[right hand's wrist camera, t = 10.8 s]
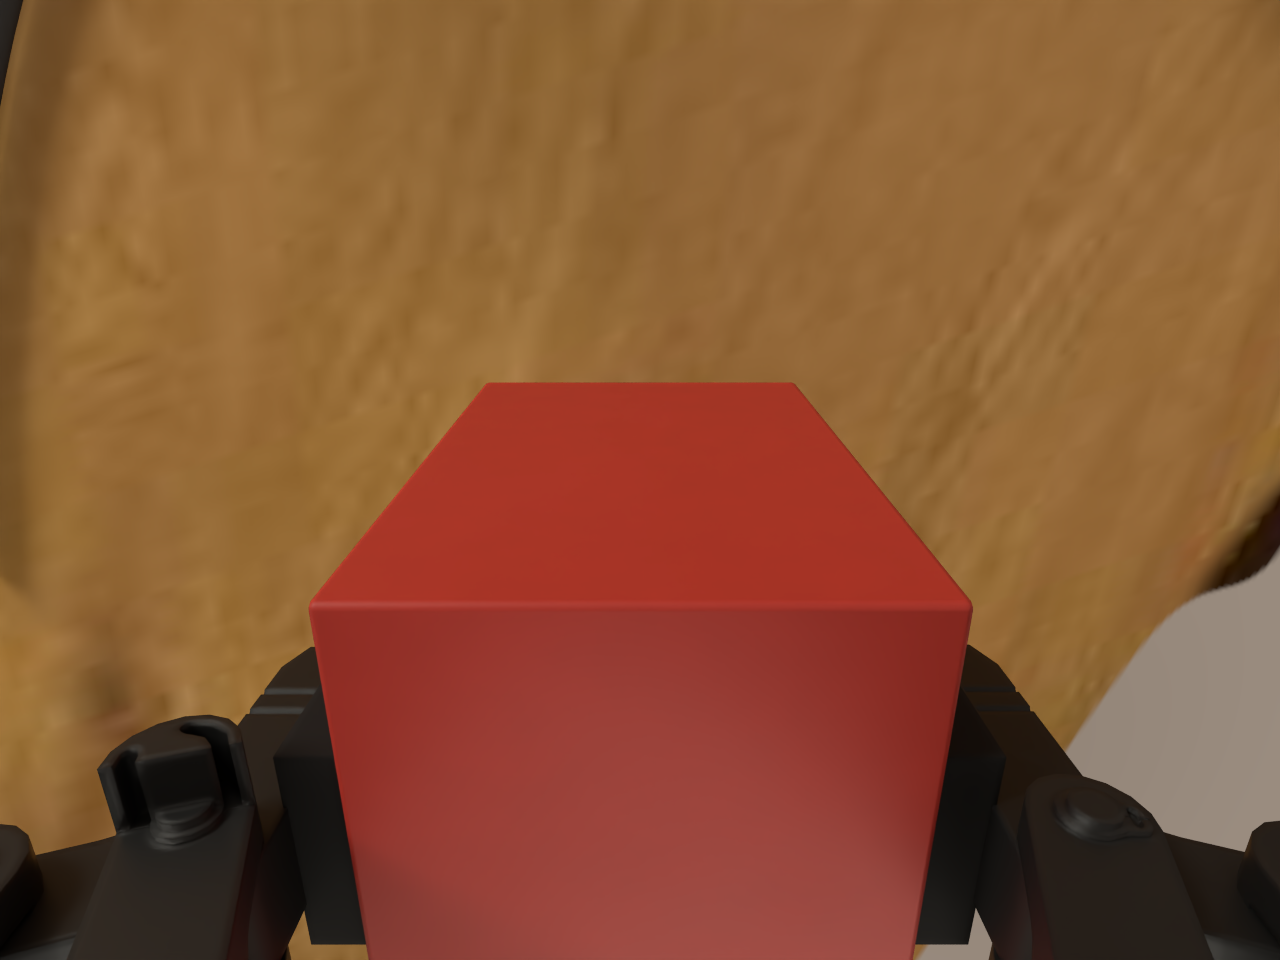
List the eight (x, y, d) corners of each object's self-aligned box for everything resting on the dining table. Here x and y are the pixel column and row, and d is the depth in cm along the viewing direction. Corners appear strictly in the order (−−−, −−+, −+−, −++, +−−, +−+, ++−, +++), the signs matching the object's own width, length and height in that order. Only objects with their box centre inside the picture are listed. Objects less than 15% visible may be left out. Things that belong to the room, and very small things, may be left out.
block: (795, 382, 15) (978, 604, 7) (774, 668, 18) (893, 1089, 9) (485, 381, 15) (303, 602, 7) (506, 668, 18) (388, 1089, 9)
